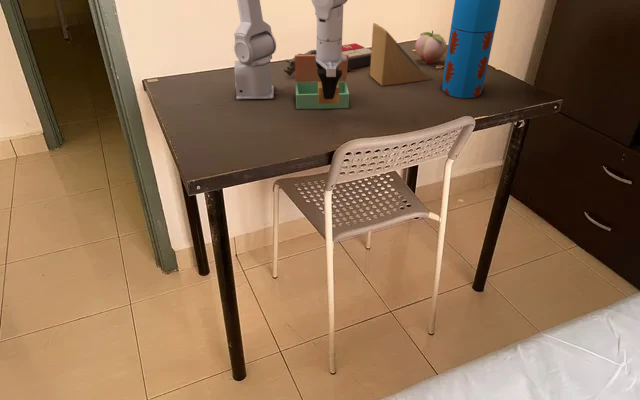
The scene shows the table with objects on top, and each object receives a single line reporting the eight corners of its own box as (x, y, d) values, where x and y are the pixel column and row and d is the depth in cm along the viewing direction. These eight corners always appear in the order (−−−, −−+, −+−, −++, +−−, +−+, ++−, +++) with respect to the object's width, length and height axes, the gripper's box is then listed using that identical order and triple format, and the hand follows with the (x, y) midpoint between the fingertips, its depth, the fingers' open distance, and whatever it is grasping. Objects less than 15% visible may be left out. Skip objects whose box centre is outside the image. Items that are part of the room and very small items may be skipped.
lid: (348, 55, 124) (347, 45, 126) (295, 56, 124) (294, 45, 126) (346, 81, 132) (345, 70, 134) (295, 81, 131) (295, 71, 133)
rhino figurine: (279, 77, 144) (278, 56, 141) (314, 66, 152) (314, 46, 148) (288, 81, 142) (287, 60, 138) (324, 69, 149) (324, 49, 146)
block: (318, 103, 119) (318, 87, 117) (317, 97, 122) (317, 81, 120) (338, 103, 120) (339, 87, 117) (337, 97, 123) (337, 81, 120)
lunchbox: (348, 108, 128) (349, 94, 125) (296, 109, 127) (296, 94, 125) (345, 95, 134) (346, 81, 132) (295, 95, 134) (295, 82, 131)
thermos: (433, 86, 139) (447, -10, 125) (463, 80, 144) (480, -14, 129) (459, 101, 132) (477, 0, 117) (490, 93, 136) (511, -4, 121)
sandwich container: (431, 79, 144) (438, 26, 135) (382, 86, 140) (386, 31, 131) (416, 69, 150) (423, 17, 142) (369, 75, 146) (373, 22, 138)
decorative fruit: (449, 64, 154) (454, 31, 148) (433, 70, 149) (438, 36, 144) (424, 56, 160) (428, 24, 154) (408, 62, 155) (412, 29, 149)
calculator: (378, 51, 152) (338, 58, 144) (376, 65, 154) (337, 73, 147) (355, 41, 159) (316, 48, 152) (354, 55, 162) (316, 62, 154)
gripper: (350, 48, 107) (348, 107, 114) (344, 27, 118) (342, 82, 126) (317, 48, 106) (316, 108, 114) (314, 27, 118) (313, 83, 126)
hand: (328, 94), depth 120 cm, fingers closed on block, 3 cm apart
